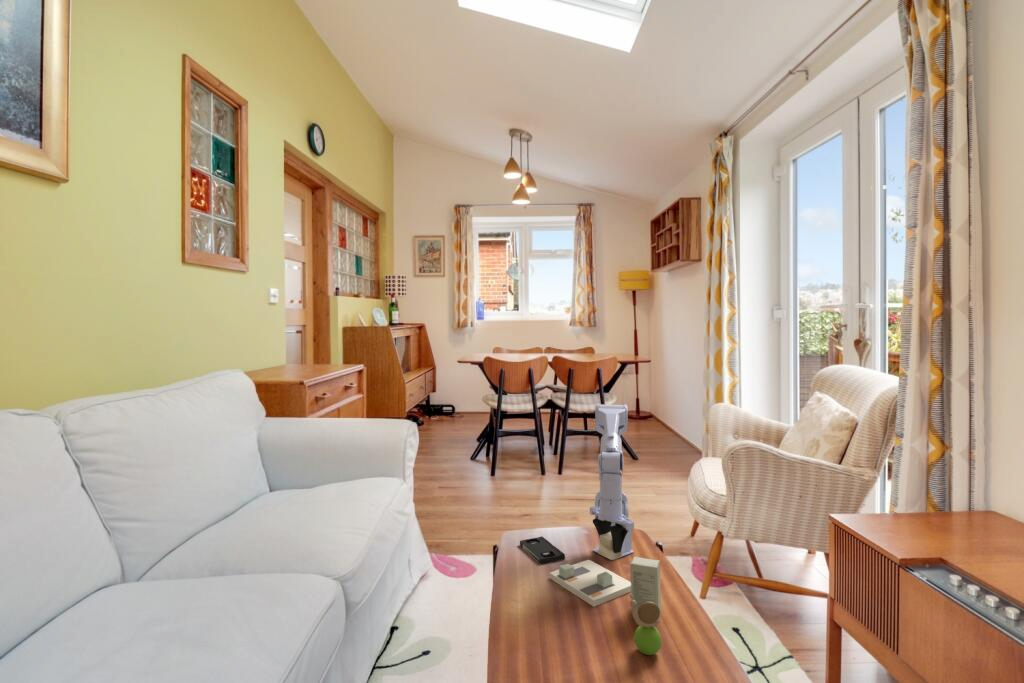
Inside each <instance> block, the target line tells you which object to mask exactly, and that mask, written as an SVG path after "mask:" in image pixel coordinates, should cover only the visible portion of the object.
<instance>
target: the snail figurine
mask: <svg viewBox="0 0 1024 683" xmlns="http://www.w3.org/2000/svg"><path fill="white" fill-rule="evenodd" d="M629 597H630V601H629V605H630V608H631V615H632V614H633V615H632V617H633V620H634V621H635V623H636V624H637V625H638V627H636V630H635V632H634V634H633V640H634V641H633V642H634V643H635V646H636V648H637V649H638V650H639V651H640V653H641V654H644V655H647V656H653V655H656V654H657V653H658V652H659V651H660V649H661V648H662V643H663V641H662V635H661V633H660V631H659V630H658V629H657V628H656V627H657V626H658V625H659V624H660V621H661V620H660V618H661V615H660V609H659V607H658V605H657V604H655V603H654V602H650V601H648V602H644V603H643V604H641V605H640V607H639V609H638V611H637V607H636V606H637V602H636V601H635V600H632V598H633V596H632V594H631V593H629ZM659 617H660V618H659ZM658 619H659V620H658Z"/></svg>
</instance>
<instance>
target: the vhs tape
mask: <svg viewBox="0 0 1024 683" xmlns="http://www.w3.org/2000/svg"><path fill="white" fill-rule="evenodd" d="M519 547H520V548H522V549H523V550H524V551H525V552H526V553H527V554H529V556H530V557H531V558H533V560H535V561H536V562H537V563H538V564H539V565H544V564H549V563H550V564H551V563H554V562H558V561H563V560H566V557H565V556H566V554H565V553H564V552H562V551H561V550H560V549H559V548H558V547H556V546H555V545H553V544H552V543H551V542H550V541H549V540H548V539H546V538H545V537H543V536H538V537H533V538H528V539H527V538H526V539H522V540H520V541H519Z"/></svg>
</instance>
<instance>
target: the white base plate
mask: <svg viewBox="0 0 1024 683" xmlns="http://www.w3.org/2000/svg"><path fill="white" fill-rule="evenodd" d="M570 565H571V564H570ZM571 566H573V567H574V576H571V577H569V578H566V579H565V578H563V577H561V576H560V575H559V569H556V570H555V571H551V572H549V579H550V580H551V581H553V582H555V583H556V584H558V585H559V586H561V587H562V588H564V589H565V590H567V591H569V592H570V593H572V594H573V595H575V596H576V597H578V598H580V599H581V600H583V601H584V602H585V603H587V604H589V605H590V606H591V607H594V608H595V607H597V606H600V605H602V604H604V603H607V602H609V601H612V600H613V599H616V598H619V597H621V596H623V595H626V594H628V593H629V594H630V593H631V580H627V579H626V578H624V577H622V576H620V575H618V574H616V573H615V572H614V571H611V570H609V569H607V568H605V567H604V566H602V565H600V564H598V563H596V562H594V561H592V560H591V559H586V560H583V561H580V562H577V563H575V564H572V565H571ZM603 572H607V573H609V574H611V575H612V585H610V586H607V587H604V588H603V587H602V586H600V585H598V584H597V575H598V574H601V573H603Z"/></svg>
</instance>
